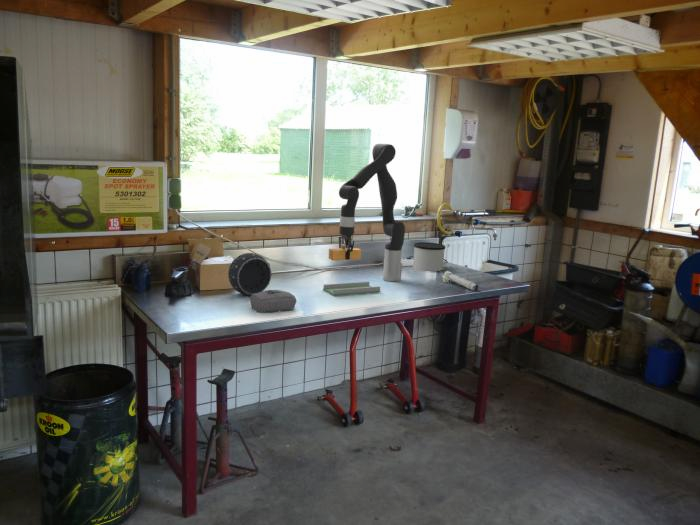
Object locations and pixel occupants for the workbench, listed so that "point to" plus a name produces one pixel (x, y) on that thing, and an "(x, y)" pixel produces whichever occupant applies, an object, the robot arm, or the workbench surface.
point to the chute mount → (350, 288)
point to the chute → (340, 254)
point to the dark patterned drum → (249, 274)
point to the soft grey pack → (272, 301)
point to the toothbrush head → (459, 281)
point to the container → (428, 256)
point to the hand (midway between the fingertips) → (345, 258)
